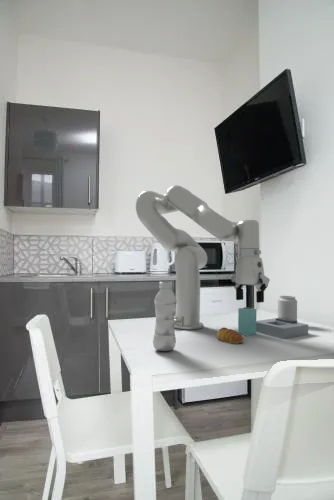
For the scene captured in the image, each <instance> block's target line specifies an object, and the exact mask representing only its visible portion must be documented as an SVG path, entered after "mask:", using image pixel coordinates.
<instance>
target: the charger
mask: <svg viewBox="0 0 334 500" xmlns="http://www.w3.org/2000/svg"><path fill="white" fill-rule="evenodd" d="M237 310H238V312H237V313H238V316H237V317H238V319H237V325H238V327H237V329H238V330H237V332H238V333H239V334H240V335H243V336H247V335H248V336H252V335H257V332H256V321H257V308H253V307H247V306H245V307H238V309H237Z"/></svg>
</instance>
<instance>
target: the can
mask: <svg viewBox="0 0 334 500" xmlns="http://www.w3.org/2000/svg"><path fill="white" fill-rule="evenodd" d="M277 318H286V319H292V320H297V321H298V300H297V299H296V296H293V295H279V298H278V299H277Z"/></svg>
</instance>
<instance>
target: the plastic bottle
mask: <svg viewBox="0 0 334 500" xmlns="http://www.w3.org/2000/svg"><path fill="white" fill-rule="evenodd" d="M158 288H159V290H158V292H157V293H156V294H155V297H154V301H153V302H154V309H155V310H154V311H155V326H154V334H153V339H152V344H153V348H154V349H155V350H156V351H160V352H170V351H173V350H174V349H175V347H176V344H177V339H176V334H175V327H174V318H175V314H176V303H177V299H176V293H174V292H173V281H167V280H165V281H164V280H163V281H159V285H158Z"/></svg>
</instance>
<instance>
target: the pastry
mask: <svg viewBox="0 0 334 500" xmlns="http://www.w3.org/2000/svg"><path fill="white" fill-rule="evenodd" d="M242 335H243V334H240V333H238V331H237V330H235V329H232V328H227V327H221V328H220V329H218V330H217V332H216V338H217V339H218V340H219V341H221V342H225V343H228V344H240V343H243V342H244V340H245V339H244V337H243V336H242Z"/></svg>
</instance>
